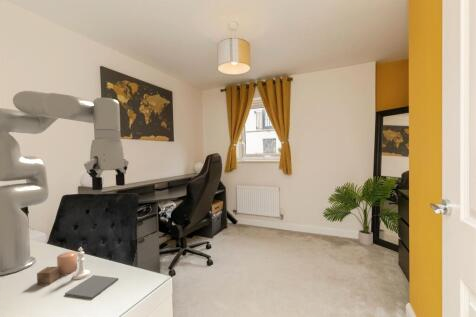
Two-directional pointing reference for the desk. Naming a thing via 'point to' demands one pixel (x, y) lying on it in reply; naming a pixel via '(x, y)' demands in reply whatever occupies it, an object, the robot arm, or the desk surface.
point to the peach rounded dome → (67, 263)
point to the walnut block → (47, 275)
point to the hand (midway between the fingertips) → (109, 187)
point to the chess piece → (81, 267)
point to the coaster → (91, 287)
